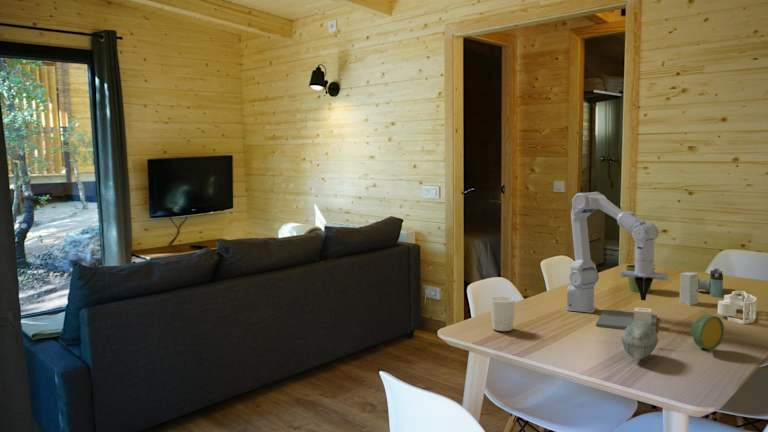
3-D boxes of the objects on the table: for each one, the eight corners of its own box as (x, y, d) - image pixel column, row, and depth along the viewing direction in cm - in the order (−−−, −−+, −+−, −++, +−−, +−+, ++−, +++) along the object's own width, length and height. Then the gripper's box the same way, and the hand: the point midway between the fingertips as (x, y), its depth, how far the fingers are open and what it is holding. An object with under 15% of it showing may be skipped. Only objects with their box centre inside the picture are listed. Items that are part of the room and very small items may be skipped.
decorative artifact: (700, 352, 168) (701, 318, 167) (679, 345, 174) (680, 312, 173) (723, 347, 172) (724, 314, 171) (702, 340, 178) (703, 309, 177)
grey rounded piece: (625, 336, 176) (624, 309, 172) (660, 341, 171) (660, 313, 167) (618, 365, 165) (617, 337, 161) (655, 371, 161) (655, 342, 156)
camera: (695, 289, 248) (696, 266, 247) (721, 291, 243) (722, 267, 242) (695, 297, 233) (695, 273, 232) (722, 299, 229) (723, 275, 228)
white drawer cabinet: (633, 324, 194) (634, 310, 193) (634, 320, 198) (635, 306, 198) (650, 325, 192) (651, 312, 191) (651, 321, 196) (651, 308, 196)
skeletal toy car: (725, 308, 217) (726, 288, 216) (760, 312, 209) (761, 292, 209) (714, 319, 201) (715, 299, 201) (752, 325, 194) (752, 303, 194)
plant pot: (657, 291, 244) (657, 265, 243) (653, 297, 234) (653, 270, 233) (627, 288, 250) (627, 263, 249) (622, 294, 240) (622, 267, 239)
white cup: (500, 333, 190) (500, 303, 189) (485, 327, 197) (485, 298, 196) (519, 329, 193) (519, 300, 192) (504, 323, 200) (504, 295, 199)
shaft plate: (596, 326, 195) (596, 314, 195) (603, 312, 213) (603, 301, 213) (654, 332, 187) (655, 320, 187) (657, 317, 205) (657, 305, 204)
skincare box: (689, 306, 219) (691, 275, 218) (678, 304, 222) (679, 273, 221) (698, 304, 222) (699, 273, 221) (687, 302, 226) (688, 271, 225)
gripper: (619, 260, 193) (619, 300, 194) (668, 263, 186) (667, 304, 187) (621, 257, 199) (621, 295, 200) (668, 259, 192) (667, 299, 194)
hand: (643, 299), depth 194 cm, fingers closed
